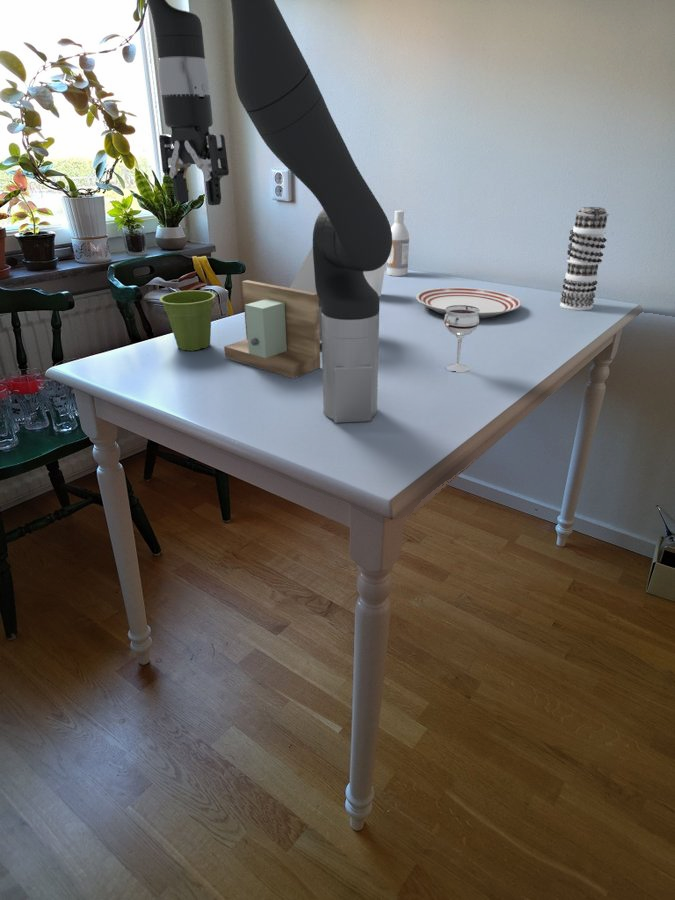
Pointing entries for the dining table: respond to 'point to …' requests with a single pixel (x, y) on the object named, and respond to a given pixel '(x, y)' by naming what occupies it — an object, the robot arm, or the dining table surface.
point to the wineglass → (461, 327)
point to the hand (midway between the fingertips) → (198, 203)
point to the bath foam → (398, 247)
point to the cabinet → (266, 327)
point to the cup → (375, 278)
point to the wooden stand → (298, 331)
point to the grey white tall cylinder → (584, 258)
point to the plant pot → (190, 317)
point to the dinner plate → (469, 300)
